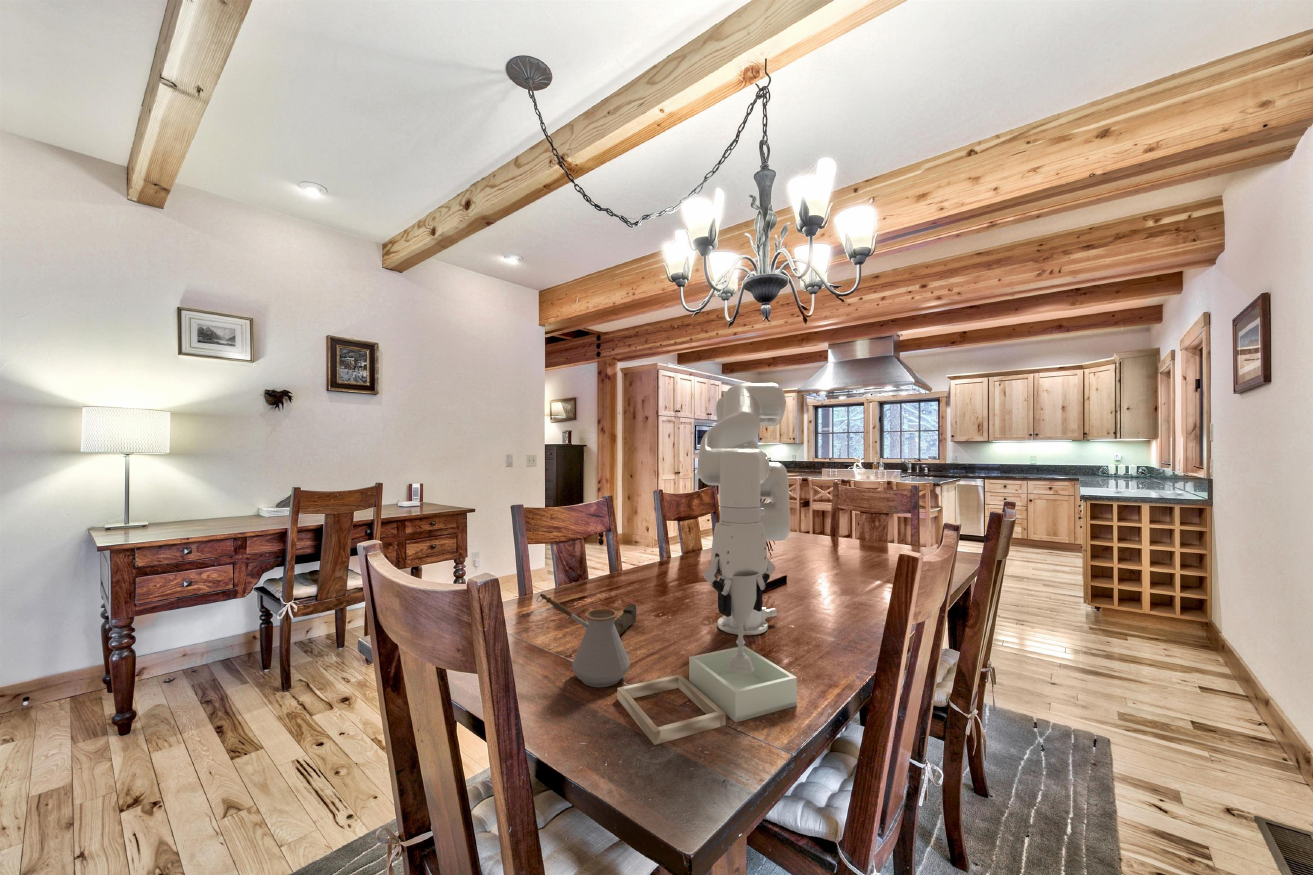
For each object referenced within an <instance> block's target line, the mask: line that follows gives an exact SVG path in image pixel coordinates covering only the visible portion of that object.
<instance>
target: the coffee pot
mask: <svg viewBox="0 0 1313 875" xmlns="http://www.w3.org/2000/svg"><path fill="white" fill-rule="evenodd" d="M540 598H541V599H540ZM539 599H540V600H539ZM543 600H545V601H546V603H547V604H550V605H551V606H552V607H553V608H554V609H556V610H557V611H559V612H561V613H563V614H564V615H565V616H568V617H569V618H571V619H573V620H574V621H576V622H577V623H578V624H580V625H581V626H582V627H583V628H585V629H586V630H585V632H584V635H583V637H582V639H581V642H580V645H579V646H578V649H577V651H576V654H575V656H574V659H573V660H572V661H573V662H572V664H571V666H572V671H573V673H574V674H575V676H576V677H577V679H579V681H580V680H581V682H582V683H583V684H585V685H586V686H589V687H593V688H605V687H611V686H613V685H616V684H617V683H619V682H620V681H621V679H622V678H623V677H625V675H626V674H627V673H628V671H629V669H630V667H631V666H630V665H631V662H630V658H629V656H628V654H627V652H626V651H627V650H626V649H625V647H624V644H623V641H622V639H621V637H620V635H619V634H618V632H617V629H616V627H615V625H614V621H615V620H616V619H617V618H618V612H617V611H616V610H614V609H611V608H596V609H592V610H588V611H586V613H585V614H584V617H585V618H586V619H587V621H585V620H583V619H582V618H580V617H578V616H577V615H575V614H573V612H571V611H570V610H569V609H568V608H566V607H565V606H564V605H562V604H561V603H559V602H558V601H555V600H554V599H552V597H550V596H549V597H548V596H547V595H546V594H544V593H540V595H539V596H538V597H537V598H536V602H537V603H541V602H542V601H543Z"/></svg>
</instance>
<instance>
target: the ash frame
mask: <svg viewBox="0 0 1313 875" xmlns="http://www.w3.org/2000/svg"><path fill="white" fill-rule="evenodd" d="M675 689H679V690H680V691H681V692H682V693H683V694H684V695H685V696H686V697H687V698H688V699H689V700H691V702H693V703H694V704H695V705H696V706H698V708H699V709H701V710H702V712H703V713H705V714H703V715H700V716H696V717H692V718H688V719H685V720H680V721H676V722H672V723H669V724H664V725H661V726H657V725H656V723H654V722H653V720H652V719H651V718H650V717H649V716H648V715H647V713H646V712H645V711H644V710H643V709H642V708H641V706H640V705H639V704H638V703H637V702H636V701H635V700H634V699H636V698H640V697H645V696H648V695H653V694H656V693H657V694H658V693H662V692H666V691H670V690H675ZM616 697H617V698H616V700H618V702H619V703H620V704H621V705H622V706H623V708H624V709H625V710H626V712H627V713H628V714H629V715H630V717H631V718H632V719H633V721H634V722H635V723H636V724H637V726H638V727H639V728H640V729H641V730H642V732H643V733H644V734H645V736H647V738H648V739H649V741H650V742H651V743H652V744H653V746H657V745H660V744H663V743H666V742H671V741H674V740H677V739H681V738H685V737H689V736H692V735H695V734H700V733H703V732H706V731H710V730H714V729H718V728H721V727H722V728H723V727H725V726H726V714H725V712H723V711H722V710H721V709H720V708H719V707H718V706H716V705H715V704H714V703H713V702H712V701H711V700H710V699H708V698H707V697H706V696H705V695H704V694H703V693H701V692H700V691H699V690H698V689H697V688H696V687H694V686H693V685H692V684H691V683H690V682H689V680H688V679H687V678H685V677H684V676H683V675H682V674H680V673H678V674H676V675H671V676H667V677H662V678H656V679H652V680H648V681H643V682H638V683H634V684H627V685H625V686H620V687H617V694H616Z"/></svg>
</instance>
